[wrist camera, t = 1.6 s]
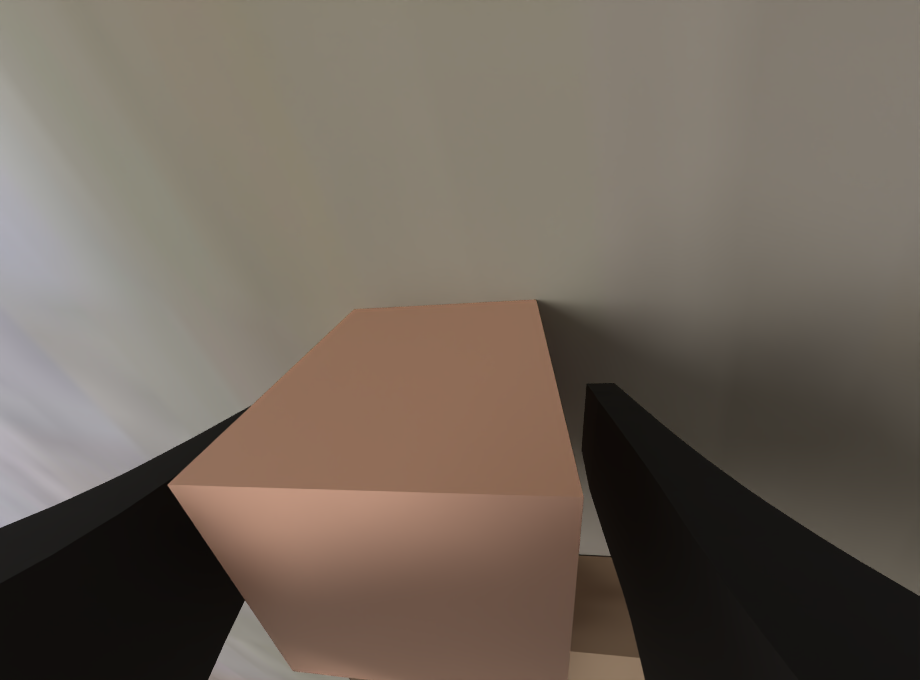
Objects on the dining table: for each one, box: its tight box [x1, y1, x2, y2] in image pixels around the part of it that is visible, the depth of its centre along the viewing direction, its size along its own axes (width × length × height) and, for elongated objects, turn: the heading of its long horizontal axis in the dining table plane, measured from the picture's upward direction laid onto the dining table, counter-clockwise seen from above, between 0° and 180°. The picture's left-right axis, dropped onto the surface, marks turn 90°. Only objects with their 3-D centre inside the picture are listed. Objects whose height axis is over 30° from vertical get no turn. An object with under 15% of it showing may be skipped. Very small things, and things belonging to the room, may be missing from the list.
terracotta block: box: [168, 300, 584, 680], centre depth 8 cm, size 5×5×6 cm
